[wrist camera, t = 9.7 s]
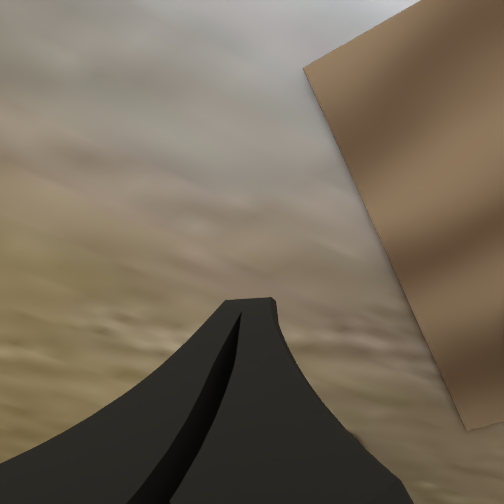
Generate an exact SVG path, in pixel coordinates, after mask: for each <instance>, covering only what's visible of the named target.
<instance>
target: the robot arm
mask: <svg viewBox="0 0 504 504" xmlns="http://www.w3.org/2000/svg"><path fill="white" fill-rule="evenodd" d="M0 504H414V503H413V501H412V499H411V498H410V496H409V494H408V492H407V491H406V489H405V487H404V485H403V484H402V482H401V480H400V479H398V478H397V477H396V476H395V475H394V474H393V473H391V472H390V471H389V470H388V469H387V468H386V467H384V466H383V465H382V464H381V463H380V462H379V461H378V460H377V459H376V458H375V457H373V456H372V455H371V454H370V453H369V452H368V451H367V450H366V449H365V448H364V447H363V446H362V445H361V444H360V443H359V442H358V441H357V440H356V439H355V438H354V437H353V436H352V435H351V434H350V433H349V432H348V431H347V430H346V429H345V428H344V426H343V425H342V424H341V423H340V422H339V421H338V419H337V418H336V417H335V416H334V415H333V414H332V413H331V411H330V410H329V409H328V408H327V407H326V406H325V404H324V403H323V402H322V401H321V399H320V398H319V397H318V395H317V394H316V392H315V391H314V390H313V388H312V387H311V385H310V384H309V382H308V381H307V380H306V378H305V377H304V375H303V373H302V372H301V370H300V368H299V367H298V365H297V363H296V361H295V359H294V358H293V356H292V354H291V352H290V350H289V348H288V346H287V344H286V341H285V339H284V337H283V334H282V332H281V329H280V326H279V323H278V314H277V306H276V301H275V300H274V299H273V298H271V297H268V298H252V299H236V300H225V301H224V302H223V303H222V304H221V305H220V306H219V308H218V309H217V310H216V311H215V312H214V313H213V314H212V315H211V316H210V317H209V318H208V320H207V321H206V322H205V323H204V324H203V325H202V326H201V327H200V328H199V329H198V330H197V331H196V332H195V333H194V334H193V335H192V337H191V338H190V339H189V340H188V341H187V342H186V343H185V344H183V345H182V346H181V347H180V348H179V349H178V350H177V351H176V352H175V353H174V354H173V355H172V356H171V357H170V358H168V359H167V360H166V361H165V362H164V363H163V364H162V365H161V366H160V367H158V368H157V369H156V370H155V371H154V372H152V373H151V374H150V375H149V376H148V377H146V378H145V379H144V380H142V381H141V382H140V383H138V384H137V385H136V386H135V387H133V388H132V389H131V390H129V391H128V392H126V393H125V394H124V395H122V396H121V397H119V398H118V399H116V400H115V401H113V402H111V403H110V404H108V405H107V406H105V407H104V408H102V409H101V410H99V411H98V412H96V413H95V414H93V415H92V416H90V417H89V418H87V419H85V420H84V421H82V422H80V423H78V424H77V425H75V426H73V427H71V428H70V429H68V430H66V431H65V432H63V433H61V434H59V435H57V436H55V437H53V438H52V439H50V440H48V441H46V442H44V443H42V444H40V445H38V446H36V447H34V448H32V449H30V450H28V451H26V452H24V453H22V454H20V455H18V456H16V457H14V458H11V459H9V460H7V461H5V462H3V463H1V464H0Z"/></svg>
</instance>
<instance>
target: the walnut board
mask: <svg viewBox="0 0 504 504" xmlns="http://www.w3.org/2000/svg"><path fill="white" fill-rule="evenodd" d="M303 69H304V71H305V74H306V76H307V78H308V80H309V82H310V85H311V87H312V89H313V91H314V93H315V96H316V98H317V100H318V102H319V105H320V107H321V109H322V111H323V113H324V116H325V118H326V120H327V122H328V125H329V127H330V129H331V131H332V133H333V136H334V138H335V140H336V142H337V144H338V147H339V149H340V151H341V153H342V156H343V158H344V160H345V162H346V164H347V167H348V169H349V171H350V173H351V176H352V178H353V180H354V182H355V184H356V187H357V189H358V191H359V193H360V195H361V198H362V200H363V202H364V204H365V207H366V209H367V211H368V213H369V215H370V218H371V220H372V222H373V224H374V227H375V229H376V231H377V233H378V235H379V238H380V240H381V242H382V244H383V246H384V249H385V251H386V253H387V255H388V258H389V260H390V262H391V264H392V266H393V269H394V271H395V273H396V275H397V278H398V280H399V282H400V284H401V286H402V289H403V291H404V293H405V295H406V297H407V300H408V302H409V304H410V306H411V309H412V311H413V313H414V315H415V317H416V320H417V322H418V324H419V326H420V329H421V331H422V333H423V335H424V337H425V340H426V342H427V344H428V346H429V348H430V351H431V353H432V355H433V357H434V360H435V362H436V364H437V366H438V368H439V371H440V373H441V375H442V377H443V380H444V382H445V384H446V386H447V388H448V391H449V393H450V395H451V397H452V399H453V402H454V404H455V406H456V408H457V411H458V413H459V415H460V417H461V419H462V422H463V424H464V426H465V428H466V430H467V431H470V430H473V429H477V428H481V427H484V426H488V425H492V424H495V423H499V422H503V421H504V0H421V1H419V2H417V3H416V4H414V5H412V6H410V7H409V8H407V9H405V10H403V11H402V12H400V13H398V14H396V15H395V16H393V17H391V18H389V19H388V20H386V21H384V22H382V23H381V24H379V25H377V26H375V27H374V28H372V29H370V30H368V31H367V32H365V33H363V34H362V35H360V36H358V37H356V38H355V39H353V40H351V41H349V42H348V43H346V44H344V45H342V46H341V47H339V48H337V49H335V50H334V51H332V52H330V53H328V54H327V55H325V56H323V57H321V58H320V59H318V60H316V61H314V62H313V63H311V64H309V65H307V66H306V67H304V68H303Z"/></svg>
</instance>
